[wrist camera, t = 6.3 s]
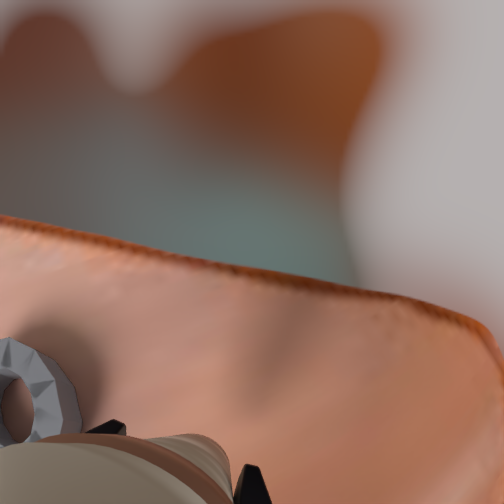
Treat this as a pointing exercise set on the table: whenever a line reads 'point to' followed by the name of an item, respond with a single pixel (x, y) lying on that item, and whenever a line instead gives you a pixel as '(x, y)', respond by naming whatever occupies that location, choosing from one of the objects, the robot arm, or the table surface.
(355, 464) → the table surface
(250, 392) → the table surface
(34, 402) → the grey ring
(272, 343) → the table surface
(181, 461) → the birch peg
